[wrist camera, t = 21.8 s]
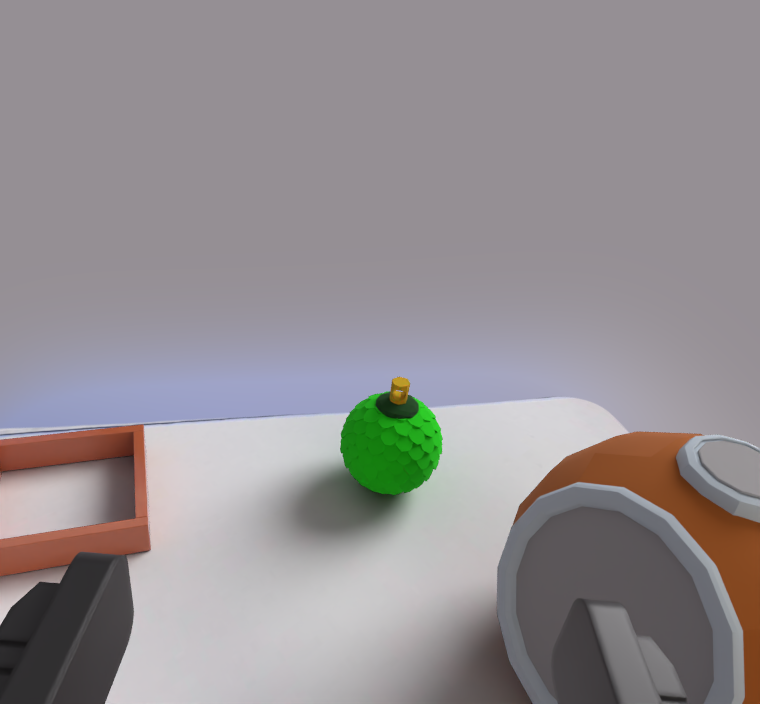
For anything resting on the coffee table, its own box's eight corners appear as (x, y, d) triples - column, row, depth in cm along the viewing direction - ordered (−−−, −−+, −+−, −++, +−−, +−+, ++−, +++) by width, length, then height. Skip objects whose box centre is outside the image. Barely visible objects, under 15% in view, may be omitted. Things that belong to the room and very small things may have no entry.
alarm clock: (428, 606, 41) (479, 395, 33) (608, 528, 50) (687, 344, 41) (660, 945, 28) (858, 738, 19) (855, 759, 36) (1056, 556, 27)
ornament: (328, 507, 48) (338, 403, 43) (345, 442, 55) (356, 346, 50) (430, 525, 48) (454, 422, 43) (434, 458, 55) (455, 362, 50)
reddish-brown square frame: (-37, 583, 39) (-47, 555, 37) (-8, 466, 47) (-15, 440, 46) (150, 550, 43) (148, 524, 41) (145, 447, 51) (143, 424, 50)
